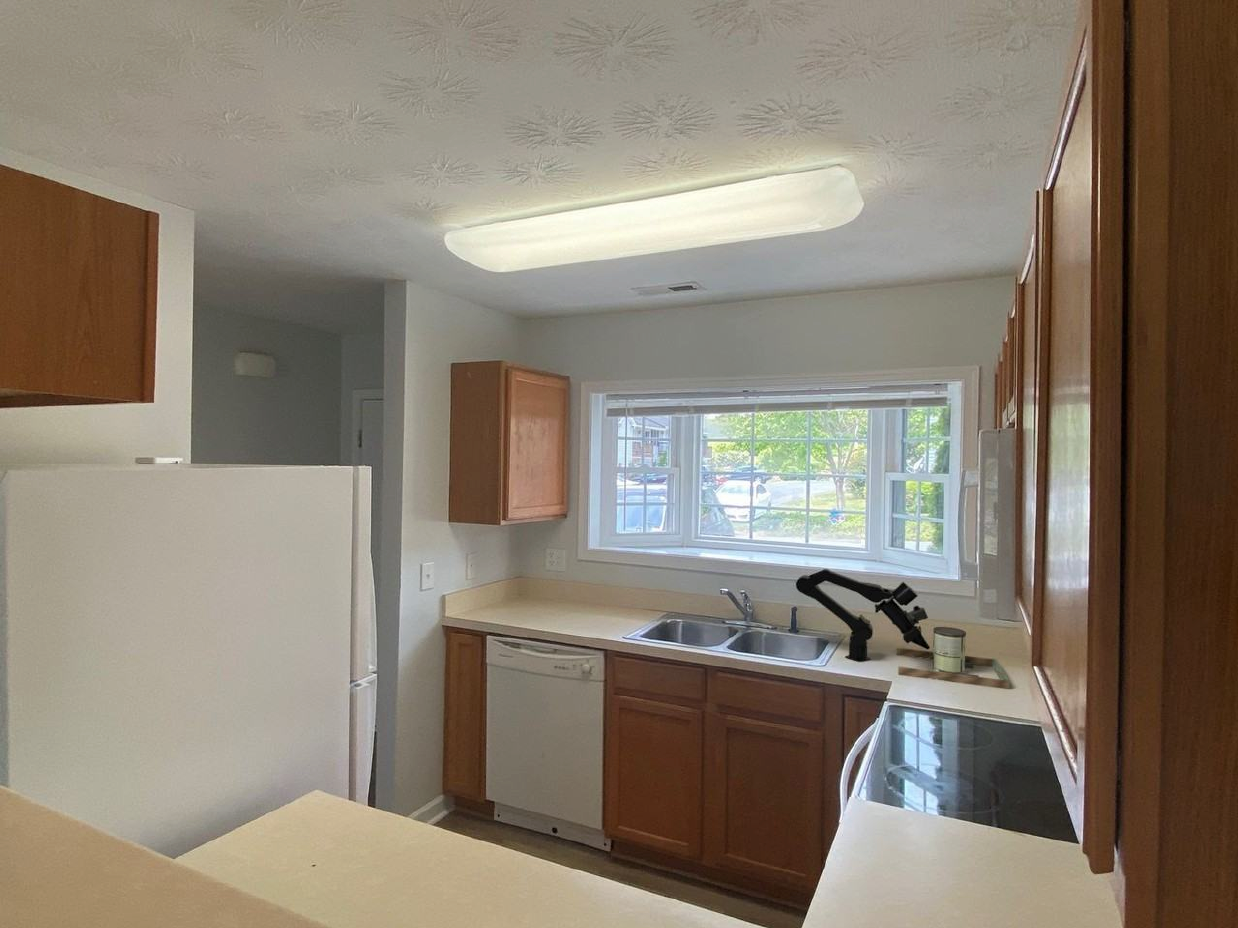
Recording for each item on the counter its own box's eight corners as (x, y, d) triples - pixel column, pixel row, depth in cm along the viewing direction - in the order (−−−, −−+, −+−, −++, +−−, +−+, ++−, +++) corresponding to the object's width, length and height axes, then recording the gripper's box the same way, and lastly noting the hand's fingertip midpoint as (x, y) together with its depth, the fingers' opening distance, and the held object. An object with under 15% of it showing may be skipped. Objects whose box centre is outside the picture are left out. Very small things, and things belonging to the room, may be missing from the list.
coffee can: (927, 665, 244) (929, 625, 244) (957, 666, 243) (959, 627, 243) (938, 674, 234) (939, 633, 234) (969, 675, 233) (971, 634, 233)
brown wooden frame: (898, 674, 232) (898, 665, 232) (896, 654, 257) (896, 646, 257) (1008, 689, 220) (1008, 679, 220) (995, 666, 245) (995, 657, 245)
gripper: (914, 604, 234) (949, 640, 230) (912, 595, 251) (944, 628, 248) (889, 625, 237) (923, 660, 233) (888, 614, 254) (920, 647, 250)
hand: (928, 648), depth 241 cm, fingers closed
